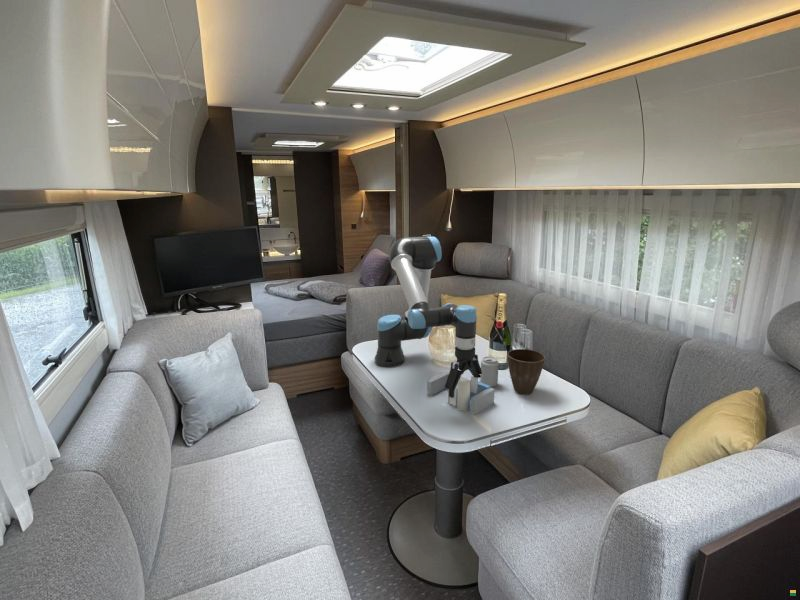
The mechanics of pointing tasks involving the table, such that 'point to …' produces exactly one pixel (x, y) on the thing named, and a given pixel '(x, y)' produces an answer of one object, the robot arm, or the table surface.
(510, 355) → the plant pot
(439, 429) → the table surface
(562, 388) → the table surface
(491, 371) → the can
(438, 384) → the folding screen
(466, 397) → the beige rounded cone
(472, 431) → the table surface
